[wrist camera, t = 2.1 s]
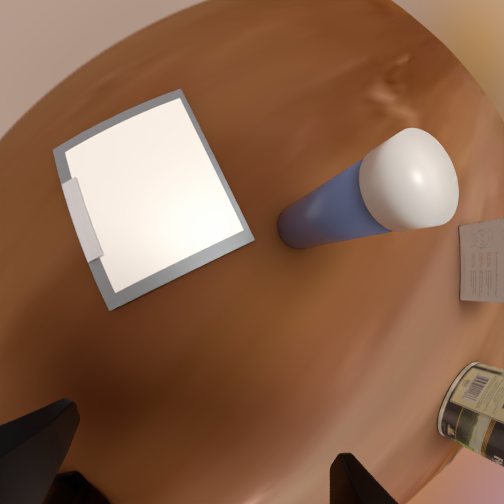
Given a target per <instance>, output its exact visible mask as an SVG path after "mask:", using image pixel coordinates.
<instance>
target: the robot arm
mask: <svg viewBox="0 0 504 504" xmlns="http://www.w3.org/2000/svg"><path fill="white" fill-rule="evenodd" d="M79 421H80V416H79V413H78V410H77V406H76V404H75V402H74V401H71V400H69V399H67V398H63V399H61V400H59V401H56V402H54V403H52V404H50V405H48V406H45V407H43V408H41V409H39V410H36V411H34V412H32V413H29V414H27V415H25V416H22V417H20V418H18V419H15V420H13V421H10V422H8V423H5V424H3V425H1V426H0V504H109V503H108V502H107V501H106V500H105V499H104V498H103V497H102V496H101V495H100V494H99V493H98V492H97V491H96V490H95V489H94V488H93V487H92V486H91V485H90V484H89V483H88V482H87V481H86V480H85V479H84V478H83V477H82V476H81V475H80V474H79V473H77V472H70V473H64V474H57V472H58V470H59V468H60V466H61V464H62V462H63V460H64V458H65V456H66V454H67V452H68V450H69V447H70V445H71V442H72V439H73V437H74V434H75V432H76V429H77V427H78V424H79ZM56 474H57V475H56ZM330 504H398V503H397V502H396V501H395V500H394V499H393V498H392V497H391V496H390V495H389V493H388V492H387V491H386V490H385V489H384V488H383V487H382V486H381V485H380V484H379V483H378V482H377V481H376V480H375V479H374V477H373V476H372V475H371V474H370V473H369V472H368V471H367V470H366V469H365V468H364V467H363V465H362V464H361V463H360V462H359V461H358V460H357V459H356V458H355V456H354V455H353V454H351V453H340V454H338V456H337V457H336V459H335V460H334V462H333V463H332V465H331V467H330Z"/></svg>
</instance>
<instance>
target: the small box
mask: <svg viewBox="0 0 504 504" xmlns="http://www.w3.org/2000/svg"><path fill="white" fill-rule="evenodd" d="M459 234H460V259H461V282H460V300H462V301H477V302H494V303H504V218H499V219H494V220H489V221H484V222H479V223H474V224H468V225H463V226H460V227H459Z"/></svg>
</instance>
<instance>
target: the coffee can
mask: <svg viewBox="0 0 504 504" xmlns="http://www.w3.org/2000/svg"><path fill="white" fill-rule="evenodd" d="M438 431H439V433H440V434H441V435H443V436H445V437H447V438H449V439H451V440H453V441H455V442H457V443H459V444H460V445H462V446H464V447H466V448H468V449H470V450H472V451H474V452H476V453H478V454H480V455H482V456H483V457H485V458H487V459H489V460H491V461H493V462H495V463H497V464H499V465H501V466H503V467H504V369H501V368H497V367H493V366H489V365H485V364H482V363H480V362H473V363H471V364H469V365H468V366H466V367H465V368H464V369H463V370H462V371H461V372H460V374H459V375H458V376H457V377H456V379H455V380H454V382H453V383H452V385H451V387H450V388H449V390H448V392H447V394H446V396H445V398H444V401H443V403H442V406H441V409H440V412H439V416H438Z"/></svg>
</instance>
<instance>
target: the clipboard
mask: <svg viewBox="0 0 504 504" xmlns="http://www.w3.org/2000/svg"><path fill="white" fill-rule="evenodd" d="M53 153H54V158H55V162H56V166H57V170H58V174H59V178H60V182H61V185H62V189H63V192H64V196H65V199H66V202H67V206H68V209H69V212H70V215H71V218H72V221H73V224H74V227H75V230H76V233H77V236H78V238H79V241H80V244H81V246H82V249H83V252H84V254H85V257H86V259H87V262H88V264H89V267H90V269H91V272H92V274H93V276H94V279H95V281H96V283H97V286H98V288H99V290H100V292H101V294H102V297H103V299H104V301H105V303H106V305H107V307H108V309H109V311H111V310H113V309H115V308H117V307H119V306H121V305H123V304H125V303H127V302H129V301H131V300H133V299H135V298H137V297H139V296H141V295H143V294H145V293H147V292H149V291H151V290H153V289H155V288H157V287H159V286H161V285H163V284H166V283H168V282H170V281H172V280H174V279H176V278H178V277H180V276H182V275H184V274H186V273H188V272H190V271H192V270H194V269H196V268H198V267H200V266H202V265H204V264H206V263H208V262H210V261H212V260H215V259H217V258H219V257H221V256H223V255H225V254H227V253H229V252H231V251H233V250H235V249H237V248H239V247H241V246H243V245H245V244H248V243H250V242H252V241H254V240H255V239H254V237H253V235H252V233H251V231H250V229H249V227H248V225H247V223H246V221H245V219H244V216H243V214H242V212H241V210H240V208H239V206H238V204H237V202H236V200H235V198H234V196H233V194H232V192H231V190H230V188H229V186H228V184H227V182H226V179H225V177H224V175H223V173H222V171H221V169H220V167H219V165H218V163H217V161H216V159H215V157H214V155H213V153H212V151H211V149H210V147H209V145H208V143H207V141H206V139H205V137H204V135H203V133H202V131H201V129H200V126H199V124H198V122H197V120H196V118H195V116H194V114H193V112H192V110H191V108H190V106H189V104H188V102H187V100H186V98H185V96H184V94H183V92H182V90H181V89H178V90H176V91H173V92H170V93H168V94H165V95H162V96H160V97H157V98H155V99H152V100H150V101H147V102H145V103H142V104H140V105H138V106H135V107H133V108H131V109H129V110H126V111H124V112H122V113H120V114H118V115H116V116H114V117H112V118H109V119H107V120H105V121H103V122H101V123H99V124H98V125H96V126H94V127H92V128H90V129H88V130H86V131H84V132H83V133H81V134H79V135H77V136H75V137H74V138H72V139H70V140H68V141H67V142H65V143H63V144H62V145H60V146H58V147H57V148H55V149H54V150H53Z"/></svg>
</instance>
